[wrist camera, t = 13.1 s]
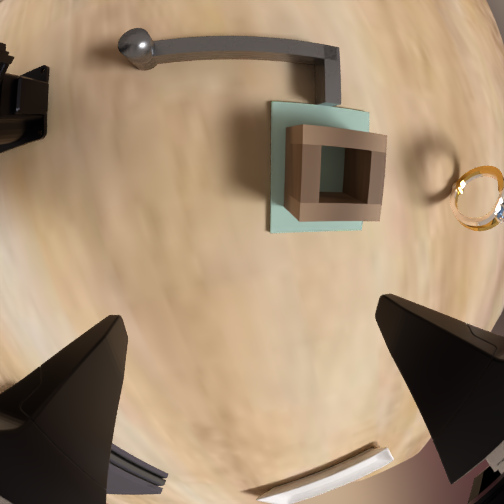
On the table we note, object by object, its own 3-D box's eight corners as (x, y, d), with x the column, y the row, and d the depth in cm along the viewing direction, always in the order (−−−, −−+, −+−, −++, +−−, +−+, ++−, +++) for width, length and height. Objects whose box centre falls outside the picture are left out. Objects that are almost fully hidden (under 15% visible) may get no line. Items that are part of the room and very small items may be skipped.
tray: (390, 451, 49) (395, 461, 46) (283, 496, 52) (285, 506, 48) (382, 436, 42) (388, 448, 39) (252, 488, 45) (254, 500, 42)
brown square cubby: (283, 207, 21) (299, 221, 17) (285, 127, 18) (302, 124, 15) (353, 207, 21) (379, 221, 18) (358, 134, 19) (386, 135, 15)
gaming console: (170, 472, 38) (169, 493, 33) (91, 476, 40) (88, 492, 35) (41, 385, 26) (29, 410, 21) (-8, 405, 28) (-16, 421, 23)
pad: (269, 232, 22) (270, 233, 21) (271, 102, 18) (271, 101, 17) (360, 229, 23) (361, 230, 22) (367, 112, 19) (369, 112, 18)
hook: (132, 109, 16) (114, 102, 13) (135, 49, 15) (119, 31, 11) (330, 107, 18) (354, 101, 15) (328, 50, 16) (351, 35, 13)
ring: (444, 220, 24) (498, 248, 16) (432, 200, 23) (491, 226, 15) (472, 175, 22) (526, 193, 15) (462, 154, 21) (520, 168, 14)
